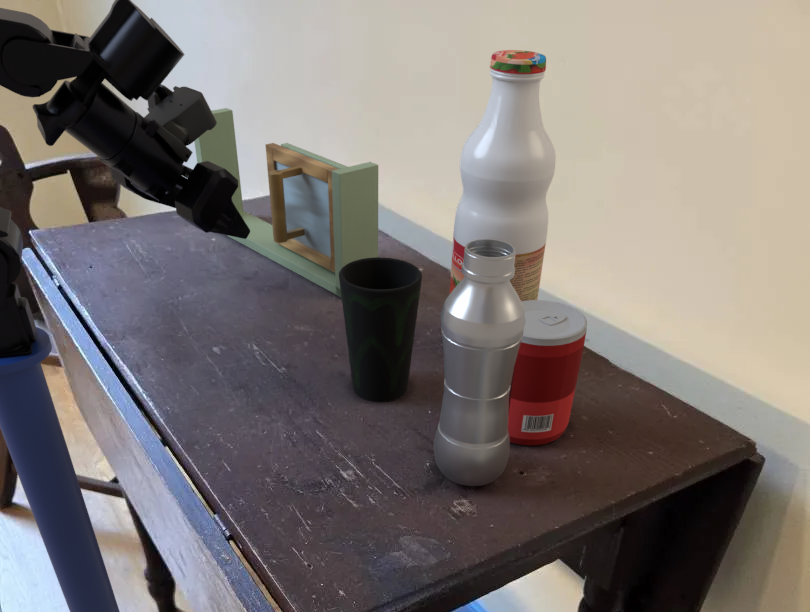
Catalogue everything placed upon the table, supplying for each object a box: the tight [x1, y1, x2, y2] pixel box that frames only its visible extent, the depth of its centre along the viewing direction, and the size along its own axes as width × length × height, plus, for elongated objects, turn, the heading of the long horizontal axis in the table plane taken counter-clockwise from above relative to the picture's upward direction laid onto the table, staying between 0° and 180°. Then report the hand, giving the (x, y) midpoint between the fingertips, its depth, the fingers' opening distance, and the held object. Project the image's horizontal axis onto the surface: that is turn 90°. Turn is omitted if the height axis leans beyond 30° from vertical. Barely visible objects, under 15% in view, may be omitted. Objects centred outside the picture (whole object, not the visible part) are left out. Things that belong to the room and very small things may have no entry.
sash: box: [265, 142, 338, 273], centre depth 95 cm, size 14×5×12 cm, turn 42°
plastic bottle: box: [432, 239, 526, 487], centre depth 62 cm, size 6×7×20 cm
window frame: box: [193, 107, 379, 299], centre depth 100 cm, size 32×6×14 cm, turn 42°
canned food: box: [508, 299, 588, 446], centre depth 71 cm, size 8×8×11 cm
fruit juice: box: [448, 49, 557, 301], centre depth 78 cm, size 9×9×28 cm
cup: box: [339, 256, 423, 403], centre depth 76 cm, size 8×8×12 cm
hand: (225, 223), depth 90 cm, fingers open, 9 cm apart
